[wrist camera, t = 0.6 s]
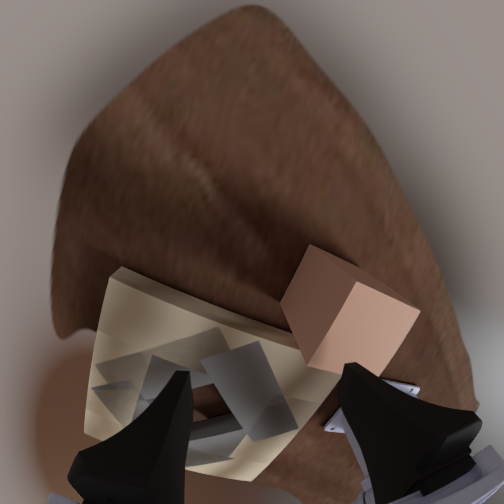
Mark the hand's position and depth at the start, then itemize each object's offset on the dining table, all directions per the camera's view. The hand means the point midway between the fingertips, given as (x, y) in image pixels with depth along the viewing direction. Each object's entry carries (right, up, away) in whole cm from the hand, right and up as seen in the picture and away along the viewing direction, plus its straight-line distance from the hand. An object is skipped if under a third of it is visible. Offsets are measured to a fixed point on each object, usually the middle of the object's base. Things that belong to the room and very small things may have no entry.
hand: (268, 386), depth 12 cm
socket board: (-6, -7, +11) cm, 14 cm away
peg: (+5, +4, +9) cm, 11 cm away
